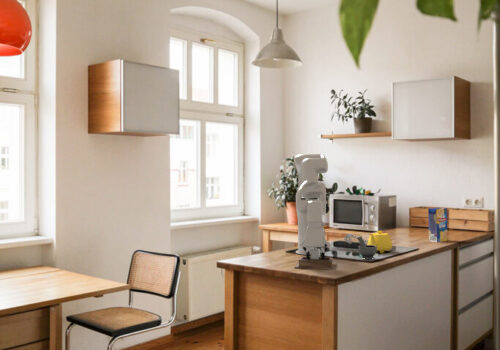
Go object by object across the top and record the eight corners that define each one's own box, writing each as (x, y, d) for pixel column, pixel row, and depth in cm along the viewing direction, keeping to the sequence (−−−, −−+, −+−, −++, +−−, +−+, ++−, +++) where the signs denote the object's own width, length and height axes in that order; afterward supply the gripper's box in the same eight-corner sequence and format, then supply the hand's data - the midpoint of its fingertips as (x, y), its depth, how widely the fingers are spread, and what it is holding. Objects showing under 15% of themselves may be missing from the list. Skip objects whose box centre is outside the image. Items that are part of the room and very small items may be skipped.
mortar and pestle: (380, 258, 283) (380, 236, 283) (370, 261, 276) (370, 238, 276) (363, 256, 291) (362, 235, 291) (353, 258, 285) (352, 236, 285)
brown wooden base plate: (297, 264, 271) (297, 256, 271) (336, 264, 267) (336, 257, 267) (294, 268, 260) (294, 260, 260) (334, 269, 255) (334, 260, 255)
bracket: (346, 239, 347) (351, 226, 344) (372, 256, 335) (378, 243, 332) (343, 240, 345) (349, 227, 342) (369, 257, 332) (376, 244, 329)
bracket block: (312, 264, 267) (312, 246, 267) (320, 264, 266) (319, 246, 266) (311, 266, 261) (310, 247, 261) (319, 266, 260) (318, 248, 260)
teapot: (360, 253, 304) (360, 231, 304) (377, 248, 318) (377, 228, 318) (381, 255, 295) (380, 233, 295) (397, 250, 309) (397, 230, 309)
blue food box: (447, 240, 348) (447, 208, 348) (437, 242, 342) (436, 208, 342) (438, 239, 354) (438, 207, 354) (428, 241, 348) (428, 208, 348)
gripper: (332, 224, 265) (333, 259, 265) (299, 224, 269) (299, 258, 269) (331, 225, 258) (332, 261, 258) (297, 225, 262) (297, 261, 262)
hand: (315, 259), depth 263 cm, fingers open, 6 cm apart
